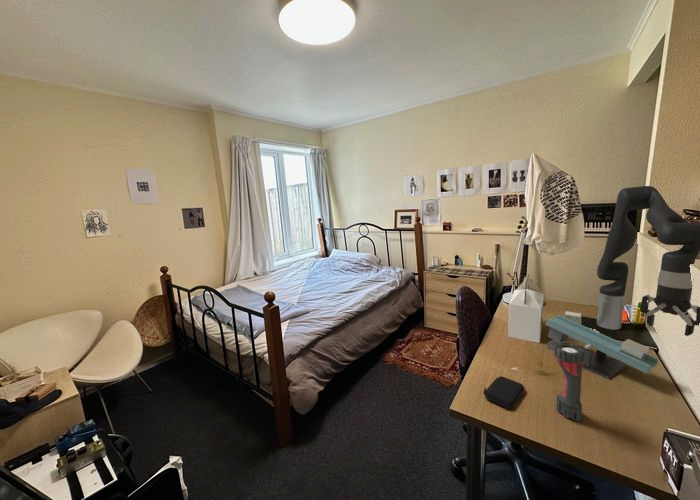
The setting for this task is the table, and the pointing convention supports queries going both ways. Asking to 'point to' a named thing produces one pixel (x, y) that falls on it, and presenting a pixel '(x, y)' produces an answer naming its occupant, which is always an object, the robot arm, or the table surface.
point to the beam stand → (597, 361)
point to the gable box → (526, 312)
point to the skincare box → (573, 318)
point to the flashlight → (570, 379)
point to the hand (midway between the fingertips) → (668, 330)
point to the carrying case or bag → (504, 392)
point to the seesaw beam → (595, 342)
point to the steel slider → (634, 349)
